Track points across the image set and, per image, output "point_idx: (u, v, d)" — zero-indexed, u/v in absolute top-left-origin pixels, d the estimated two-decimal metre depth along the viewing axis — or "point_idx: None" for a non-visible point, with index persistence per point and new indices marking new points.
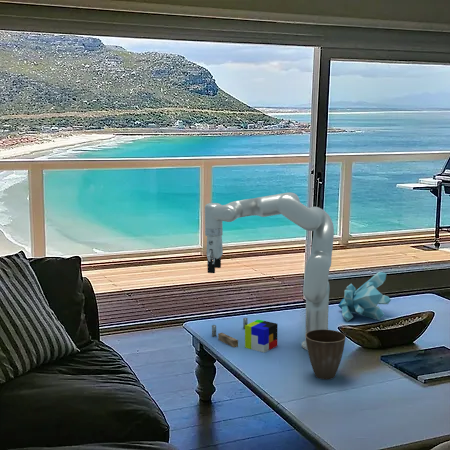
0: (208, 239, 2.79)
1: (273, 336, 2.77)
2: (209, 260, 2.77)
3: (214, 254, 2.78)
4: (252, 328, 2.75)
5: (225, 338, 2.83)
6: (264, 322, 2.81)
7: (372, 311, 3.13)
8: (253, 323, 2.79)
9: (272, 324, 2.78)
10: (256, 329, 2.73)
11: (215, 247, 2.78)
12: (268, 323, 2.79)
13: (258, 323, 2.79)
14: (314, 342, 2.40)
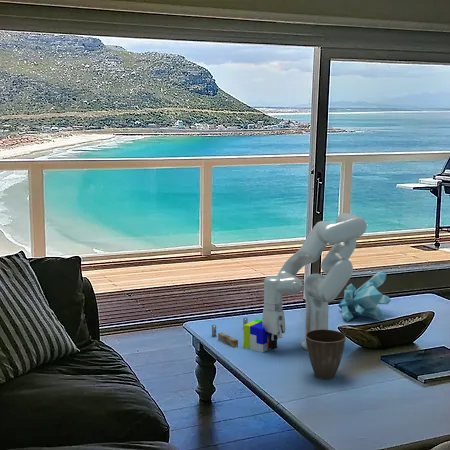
0: (277, 315, 2.66)
1: None
2: None
3: (281, 333, 2.69)
4: (251, 327, 2.75)
5: (225, 338, 2.83)
6: None
7: (372, 311, 3.13)
8: (252, 322, 2.80)
9: None
10: (255, 328, 2.74)
11: (284, 321, 2.68)
12: None
13: (257, 323, 2.79)
14: (314, 342, 2.40)
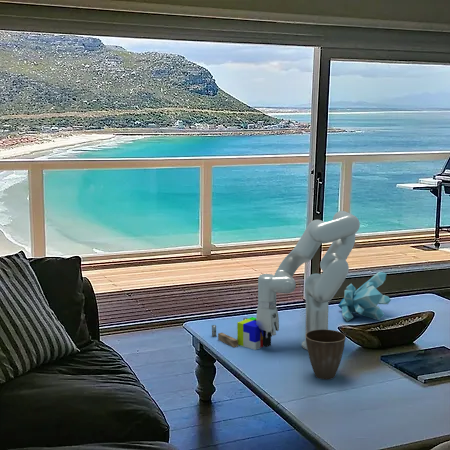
0: (271, 312, 2.69)
1: None
2: None
3: None
4: (244, 325, 2.78)
5: (225, 338, 2.83)
6: None
7: (372, 311, 3.13)
8: (246, 320, 2.83)
9: None
10: (248, 326, 2.77)
11: (278, 319, 2.71)
12: None
13: (251, 321, 2.82)
14: (314, 342, 2.40)
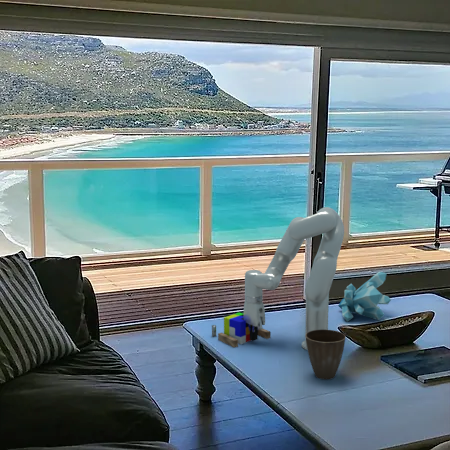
0: (257, 307, 2.77)
1: None
2: None
3: (261, 324, 2.80)
4: (230, 320, 2.85)
5: (225, 338, 2.83)
6: (243, 315, 2.90)
7: (372, 311, 3.13)
8: (232, 316, 2.90)
9: None
10: (233, 321, 2.84)
11: (264, 314, 2.79)
12: None
13: (237, 316, 2.89)
14: (314, 342, 2.40)
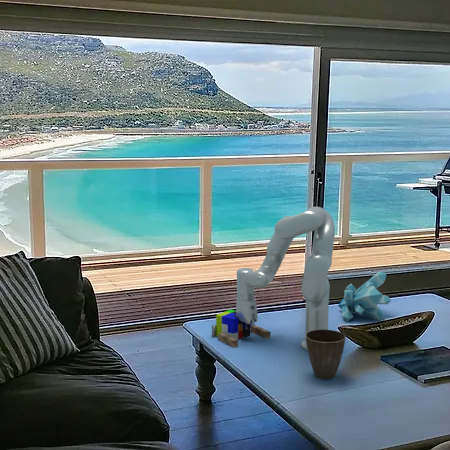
0: (249, 304, 2.81)
1: None
2: None
3: (254, 321, 2.85)
4: (222, 317, 2.89)
5: (225, 338, 2.83)
6: (235, 312, 2.95)
7: (372, 311, 3.13)
8: (224, 313, 2.94)
9: None
10: (226, 318, 2.88)
11: (256, 311, 2.83)
12: None
13: (229, 313, 2.93)
14: (314, 342, 2.40)
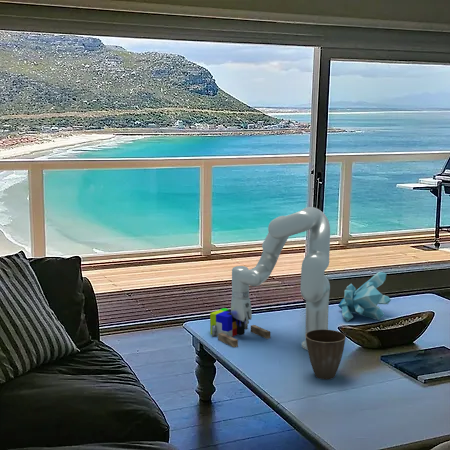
0: (244, 302, 2.84)
1: None
2: None
3: None
4: (217, 316, 2.92)
5: (225, 338, 2.83)
6: (229, 310, 2.98)
7: (372, 311, 3.13)
8: (218, 311, 2.97)
9: None
10: (220, 316, 2.91)
11: (250, 308, 2.86)
12: None
13: (223, 311, 2.96)
14: (314, 342, 2.40)
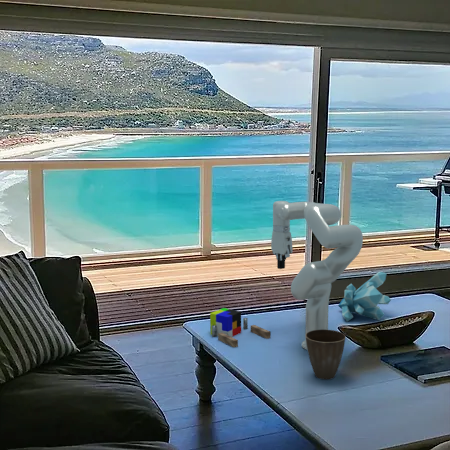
0: (285, 236, 2.89)
1: (237, 323, 2.95)
2: None
3: (289, 253, 2.93)
4: (217, 316, 2.92)
5: (225, 338, 2.83)
6: (229, 310, 2.98)
7: (372, 311, 3.13)
8: (218, 311, 2.97)
9: (236, 312, 2.95)
10: (220, 316, 2.91)
11: (291, 242, 2.91)
12: (232, 311, 2.96)
13: (223, 311, 2.96)
14: (314, 342, 2.40)
